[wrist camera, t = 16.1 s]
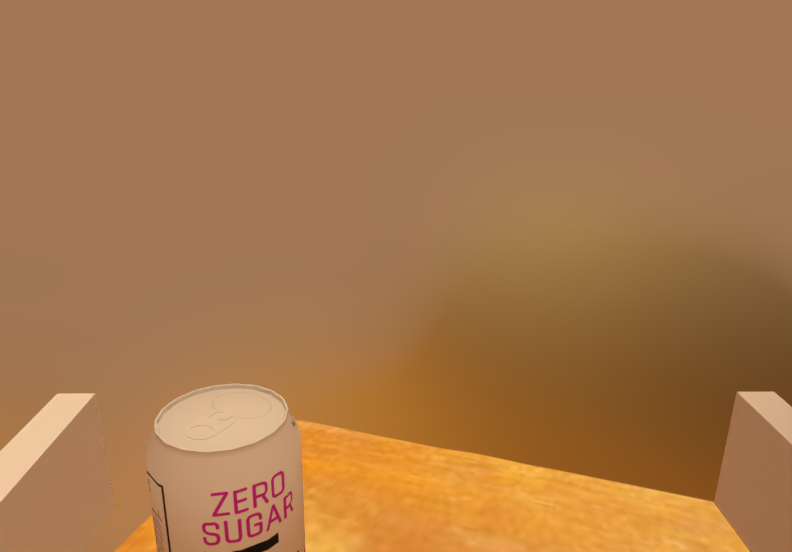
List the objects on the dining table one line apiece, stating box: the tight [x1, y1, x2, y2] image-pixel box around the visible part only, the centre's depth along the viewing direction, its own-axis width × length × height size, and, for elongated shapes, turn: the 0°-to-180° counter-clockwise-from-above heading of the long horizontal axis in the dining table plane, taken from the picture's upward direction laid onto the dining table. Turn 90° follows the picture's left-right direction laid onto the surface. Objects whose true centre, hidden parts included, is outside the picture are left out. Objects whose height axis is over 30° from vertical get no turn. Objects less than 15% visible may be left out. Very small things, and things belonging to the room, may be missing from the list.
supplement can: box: [145, 384, 305, 552], centre depth 36 cm, size 8×8×15 cm
